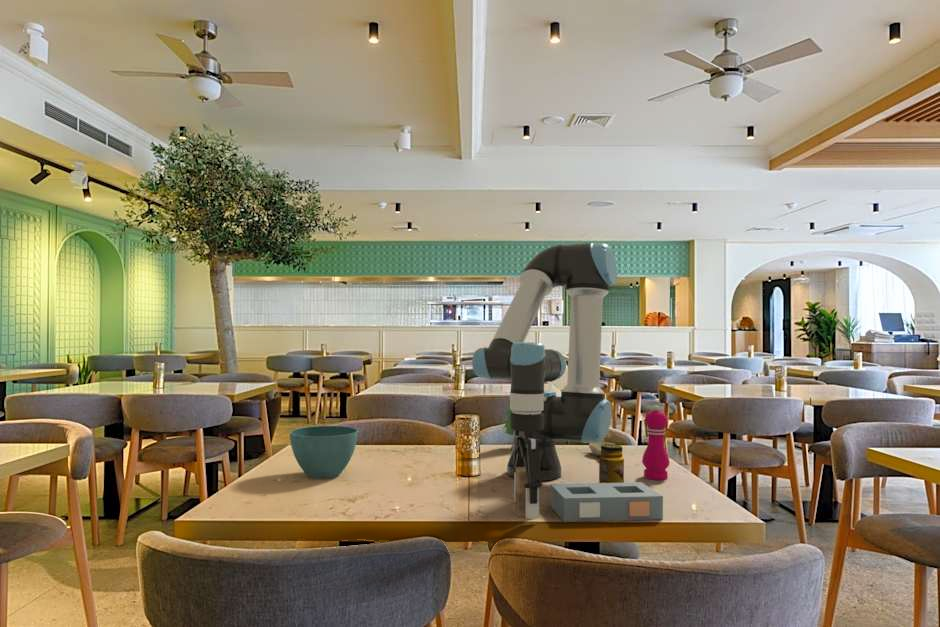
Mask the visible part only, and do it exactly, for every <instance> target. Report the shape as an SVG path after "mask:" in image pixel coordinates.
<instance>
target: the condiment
mask: <svg viewBox="0 0 940 627" xmlns="http://www.w3.org/2000/svg"><path fill="white" fill-rule="evenodd" d="M615 444H616V443H614V444H604V445H602V446H601V456H598V471H599V472H598V473H599V474H598V476H599V477H598V483H625V479H624V478H625V477H624V476H625V474H624V473H625V472H624V471H625V459H624V456H623V454H624V453H623V447H622V445H619V444H616V445H615Z"/></svg>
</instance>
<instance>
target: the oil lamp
mask: <svg viewBox="0 0 940 627" xmlns="http://www.w3.org/2000/svg"><path fill="white" fill-rule="evenodd" d="M605 438H607V439H608V438H609V439H610V438H612V436H611V432H610V431H609V430H608V432H607V434H606V436H605ZM605 438H604V439H603V440H602V441H601V442H599V443H588V447H589V450H590V451H591V453H592V454H593V455H594V456H595V457H600V456H601V446H602V445H604V444H615V445H617V444H616V443H613V442H605Z"/></svg>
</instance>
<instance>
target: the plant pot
mask: <svg viewBox="0 0 940 627" xmlns="http://www.w3.org/2000/svg"><path fill="white" fill-rule="evenodd" d="M358 434H359V430H358V429H357V428H355V427H352V426H344V425H343V426H340V425H317V426H316V425H315V426H314V425H313V426H306V427H300V428H296V429H292V430H290V431H289V442H290V445H291V448H292V449H291V450H292V453H293V456H294V458H295V460H296V462H297V464H298V465H299V467H300V468H301V470H302V471H303V473H304V474H305V475H306V476H307V477H309V478H310V479H314V480H315V479H318V480H326V479H333V478H336V477H338V476H340V475H341V474H342V472H343V471H345V469H346V467H347V466H348V464H349V462H350V461H351V459H352V457H353V454H354V452H355V450H356V446H357V442H358V441H357V440H358V437H359V436H358Z"/></svg>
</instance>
